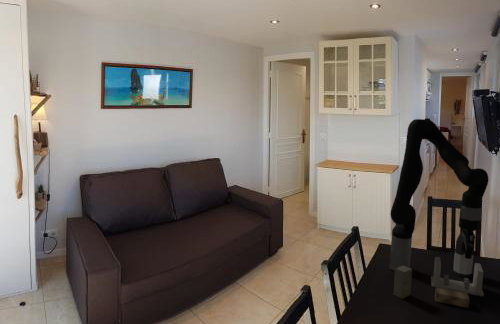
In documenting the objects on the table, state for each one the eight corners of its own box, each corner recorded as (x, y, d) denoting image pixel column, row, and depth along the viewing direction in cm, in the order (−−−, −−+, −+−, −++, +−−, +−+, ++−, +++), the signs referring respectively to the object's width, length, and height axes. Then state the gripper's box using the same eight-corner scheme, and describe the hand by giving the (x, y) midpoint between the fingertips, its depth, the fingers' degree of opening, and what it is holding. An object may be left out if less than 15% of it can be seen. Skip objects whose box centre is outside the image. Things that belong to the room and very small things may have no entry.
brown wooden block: (435, 301, 150) (436, 293, 149) (434, 296, 154) (435, 287, 154) (468, 308, 145) (469, 299, 144) (466, 302, 149) (467, 293, 149)
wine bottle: (466, 270, 178) (472, 212, 173) (475, 278, 170) (481, 217, 165) (449, 269, 179) (455, 211, 174) (457, 277, 171) (463, 216, 166)
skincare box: (402, 299, 151) (404, 272, 149) (392, 294, 155) (394, 268, 153) (410, 295, 154) (412, 268, 153) (401, 290, 158) (403, 264, 156)
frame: (431, 286, 162) (433, 263, 160) (430, 278, 170) (432, 256, 168) (483, 296, 153) (486, 272, 152) (480, 287, 162) (482, 264, 160)
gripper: (457, 211, 154) (453, 246, 157) (462, 220, 141) (458, 259, 144) (477, 213, 151) (473, 249, 154) (484, 223, 138) (480, 262, 141)
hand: (466, 254), depth 149 cm, fingers open, 8 cm apart
